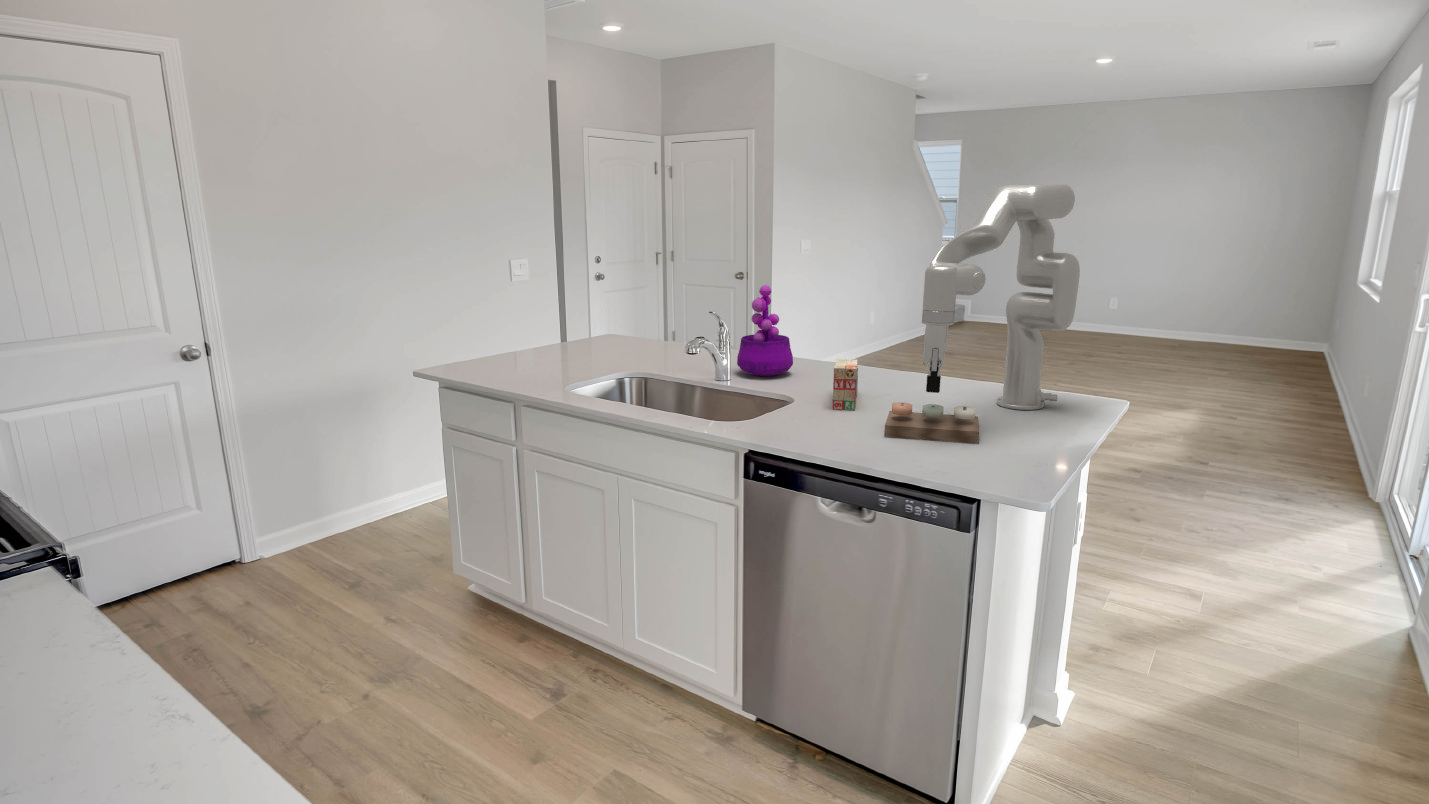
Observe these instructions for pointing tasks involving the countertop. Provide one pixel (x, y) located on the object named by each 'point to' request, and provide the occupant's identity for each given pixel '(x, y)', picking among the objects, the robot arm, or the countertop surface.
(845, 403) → the stack of blocks
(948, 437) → the button board
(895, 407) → the terracotta button
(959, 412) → the cream button
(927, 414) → the sage button
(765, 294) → the decorative plant
